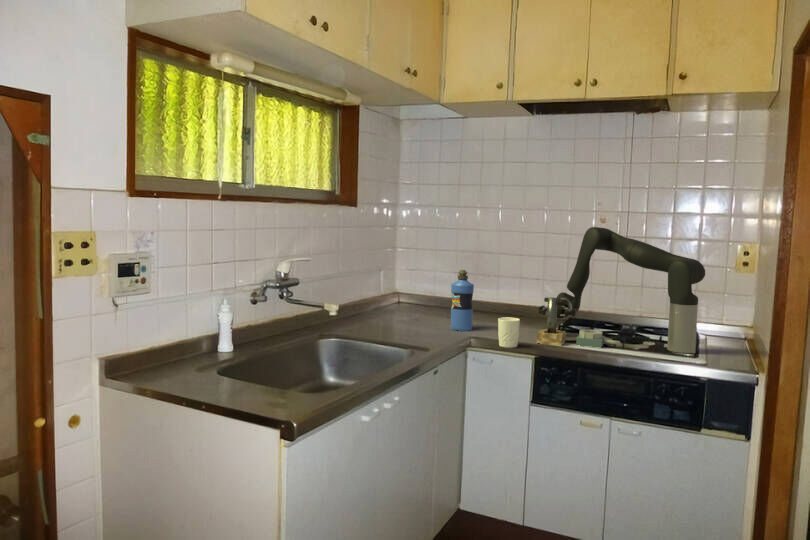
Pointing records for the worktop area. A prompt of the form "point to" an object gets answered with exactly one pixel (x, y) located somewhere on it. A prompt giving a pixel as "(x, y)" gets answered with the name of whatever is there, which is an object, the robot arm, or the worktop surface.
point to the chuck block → (592, 338)
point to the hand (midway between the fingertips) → (554, 313)
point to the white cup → (508, 331)
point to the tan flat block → (551, 337)
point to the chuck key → (552, 314)
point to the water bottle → (462, 303)
